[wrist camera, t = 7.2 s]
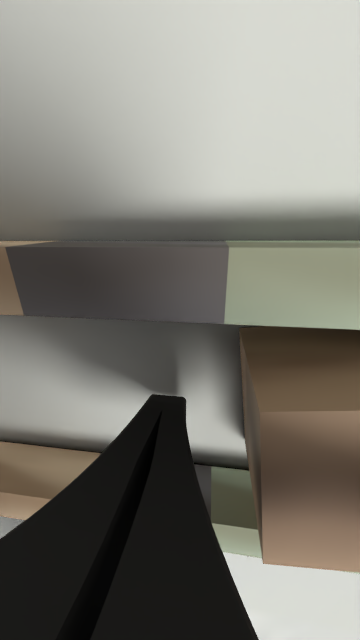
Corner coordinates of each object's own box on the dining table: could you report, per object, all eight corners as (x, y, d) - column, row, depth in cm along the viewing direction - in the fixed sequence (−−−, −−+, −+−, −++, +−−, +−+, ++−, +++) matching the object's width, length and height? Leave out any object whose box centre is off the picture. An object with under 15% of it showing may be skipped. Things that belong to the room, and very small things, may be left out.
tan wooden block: (384, 441, 10) (497, 584, 6) (245, 441, 11) (263, 563, 7) (415, 315, 8) (615, 407, 4) (239, 328, 9) (260, 412, 5)
